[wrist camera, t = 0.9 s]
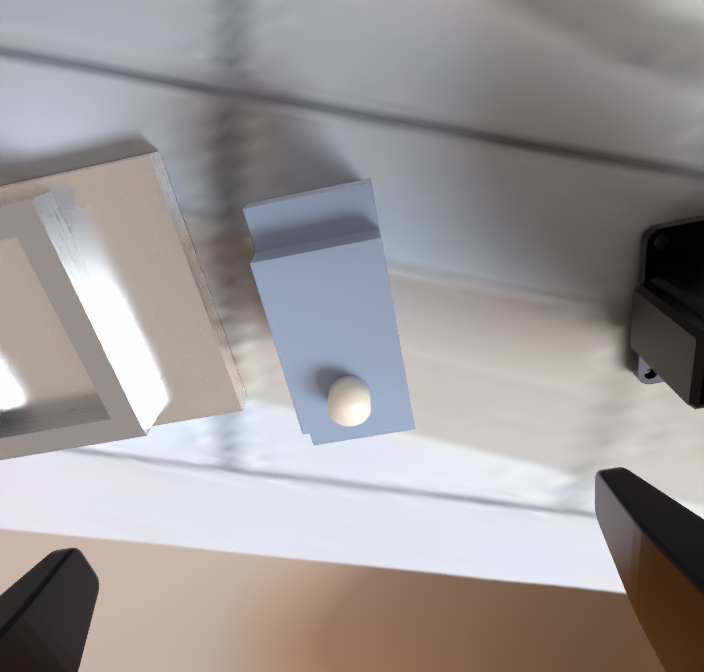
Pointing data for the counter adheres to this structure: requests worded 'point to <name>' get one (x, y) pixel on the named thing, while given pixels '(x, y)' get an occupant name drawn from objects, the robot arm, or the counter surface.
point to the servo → (331, 310)
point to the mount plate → (104, 311)
